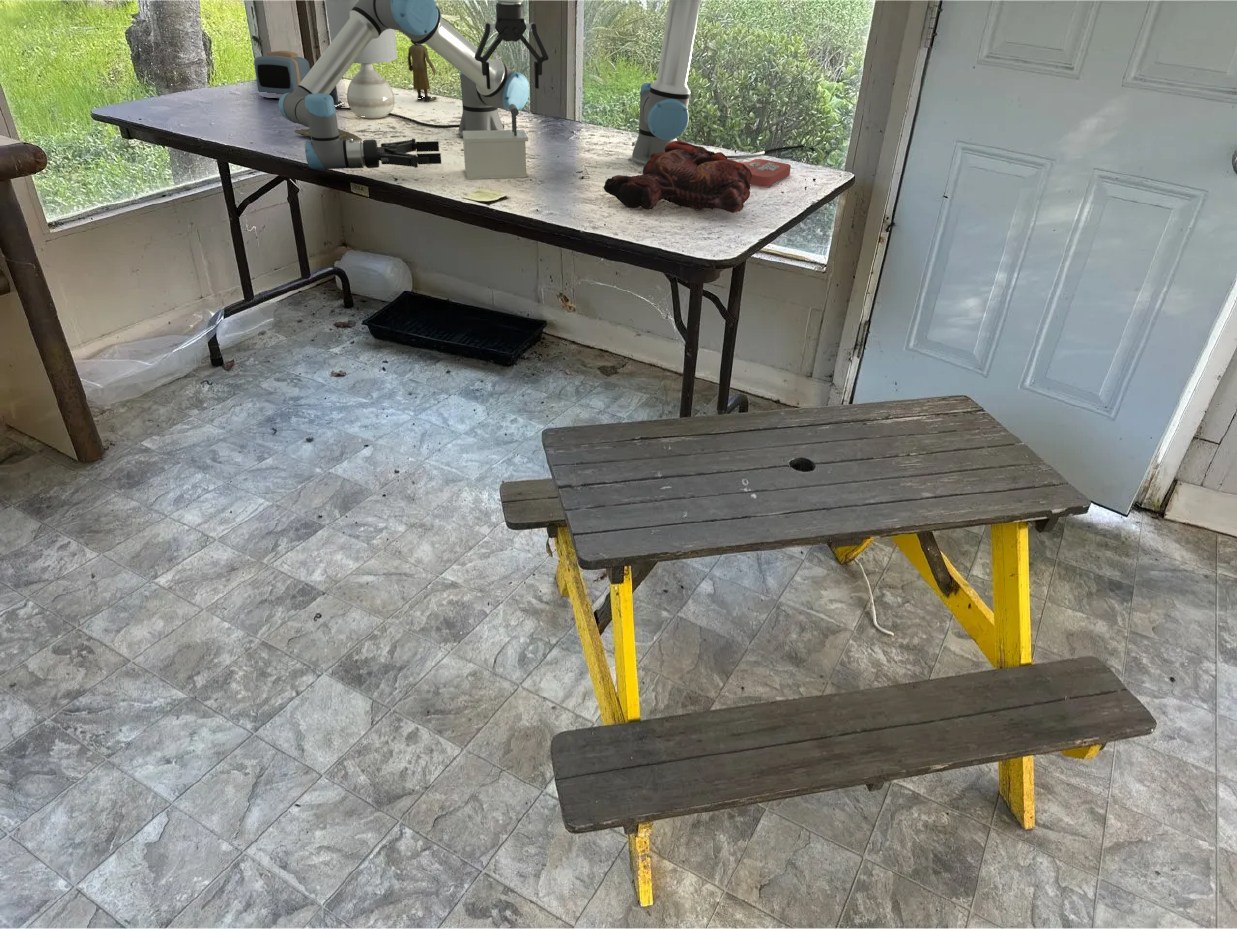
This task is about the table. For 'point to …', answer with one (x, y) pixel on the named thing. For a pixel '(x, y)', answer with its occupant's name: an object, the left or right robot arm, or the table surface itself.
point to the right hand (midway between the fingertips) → (512, 88)
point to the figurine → (420, 69)
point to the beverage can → (335, 97)
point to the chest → (495, 159)
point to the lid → (498, 132)
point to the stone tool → (342, 134)
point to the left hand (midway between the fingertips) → (440, 152)
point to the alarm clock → (280, 71)
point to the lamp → (366, 65)
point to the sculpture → (685, 180)
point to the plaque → (767, 172)
